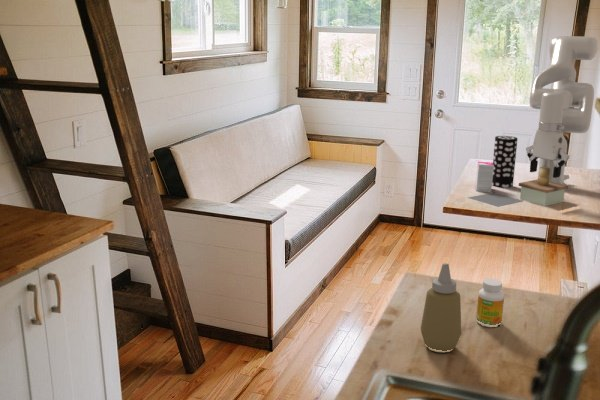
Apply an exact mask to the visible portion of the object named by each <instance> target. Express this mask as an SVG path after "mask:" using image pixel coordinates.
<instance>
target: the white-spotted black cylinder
mask: <svg viewBox="0 0 600 400" xmlns="http://www.w3.org/2000/svg"><path fill="white" fill-rule="evenodd" d="M518 139H519V138H518V137H516V136H511V135H497V136H495V137H494V147H493V159H492V163H493V165H494V170H493V179H492V187H495V188H503V189H504V188H505V189H508V188H512V187H513V186H514V176H515V168H516V167H515V166H516V160H517V159H516V158H517V147H518Z"/></svg>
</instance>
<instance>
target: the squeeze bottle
mask: <svg viewBox="0 0 600 400" xmlns="http://www.w3.org/2000/svg"><path fill="white" fill-rule="evenodd" d="M461 307H462V305H461V294H460V292H458V291H457V281H456V280H454V279H452V277H451V270H450V264H449V263H447V262H443V263H442V265H441V268H440V272H439V275H438V277H434V279H433V280H432V282H431V288H429V289H428V290H427V291H426V295H425V301H424V307H423V313H422V317H421V318H422V319H421V324H420V332H421V335H422V339H423V343H424V345H425V344H426V345H427V346H428V347H430V348H432V349H436V350H442V351H447V350H451V349H454V348H455V349H456V347H457V345H458V342H459V340H460V338H461V335H462V312H461V311H462V308H461ZM455 349H454V350H455Z"/></svg>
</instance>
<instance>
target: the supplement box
mask: <svg viewBox="0 0 600 400" xmlns="http://www.w3.org/2000/svg"><path fill="white" fill-rule="evenodd" d="M476 168H477V169H476V177H475V186H474V189H475V192H482V193H483V192H484V193H485V192H487V193H492V187H493V186H492V179H493V170H494V165H493V161H492V162H488V161H477V167H476Z"/></svg>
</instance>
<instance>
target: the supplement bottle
mask: <svg viewBox="0 0 600 400" xmlns="http://www.w3.org/2000/svg"><path fill="white" fill-rule="evenodd" d="M502 288H503V282H502V281H501V280H499V279H496V278H485V279H483V281H482V288H481V289H479V291H478V295H477V305H476V306H477V308H476V316H475V319H476V318H477V320H478V321H480V322H482V323H484V324H489V325H496V324H499V323H501V324H502V322H501V321H503V311H504V303H505V293H504V291H502V290H503V289H502Z"/></svg>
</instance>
